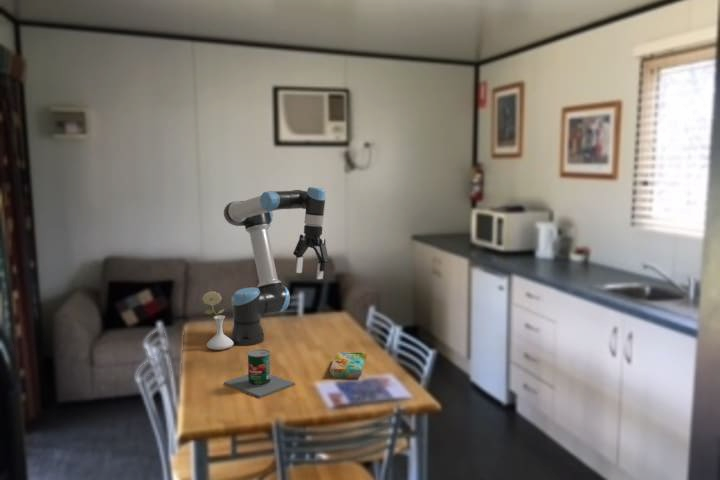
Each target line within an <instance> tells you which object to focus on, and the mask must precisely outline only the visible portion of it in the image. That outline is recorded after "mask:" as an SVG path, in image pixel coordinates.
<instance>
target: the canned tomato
mask: <svg viewBox="0 0 720 480" xmlns="http://www.w3.org/2000/svg"><path fill="white" fill-rule="evenodd" d="M247 368H248V370H247V372H248V377H249V378H248V379H249V385H251V386H256V387H259V386H265V385H268V384H270V382H271V376H270V375H272V373H271V351H270V350H267V349H254V350H250V351H249V352H247Z"/></svg>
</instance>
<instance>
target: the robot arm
mask: <svg viewBox="0 0 720 480" xmlns="http://www.w3.org/2000/svg"><path fill="white" fill-rule="evenodd" d="M325 202H326V190H325V188H322V187H313V186H311V187H310V186H308V188H307V190H301V189H293V190H282V191H281V190H278V191H277V190H275V191H273V190H270V191H264V192H262V194H260V195H259V196H255V197H251V198H248V199H246V200H245V199H244V200H236V201H232V202H229V203H228V204H226V206H225V207H224V210H223V217H224V219H225V221H227V223H228V224H230V225H232V226H235V227H243V226H244V228H245V232H247V233H248V234H249V237H250V242H251V248H252V252H253V256H254V257H253V259H254V262H255V267H256V272H257V277H258V282H259V283H258V285H257V286H256V287H251V286H250V287H245V288H241V289H238V290H236V291H235V292H234V293H233V296H232V305H233V306H232V308H233V326H232V329H231V334H230V337H229V338H230V339H231V340H232V341H233V343H234V344H233V345H236V346H237V345H238V346H251V345H258V344H261V343H263V342H264V341H265V333H264V330H263V327H262V325H261V316H266V315H271V314H278V313H281V312H284V311H286V309H288V307H289V304H290V300H291V296H290V295H291V294H290V291H289V289H288V288H287V287H286V286H285V285H283V283H282V281H281V280H279V278H278V273H277V269H276V265H275V259H274V255H273V250H272V245H271V241H270V240H271V239H270V235H269V231H268V230H269V228H270V227H271V223H272V221H273V218H274V217H273V216H274V214H273V212H274V211H277V210H292V209H294V210H295V209H303V210H305V215H304V222H303V223H304V226H303V228H304V229H303V234H299V238H298V241H297V243H296V246H295V247H294V251H293V252H292V254H293V255H294V256H295V257H296V261H295V273H296V274H302V272H303V262H304V255H305V253H306V251H307V250H308V249H309V248H311V249H313V250H314V252H315V255H316V257H317V260H318V262H317V268H316V269H317V271H316V279H317V280H323V279H324V278H323V277H324V271H325V269H326V268H325V266H326V264H327V263H329V262H330V259H329V258H330V257H329V255H328V249H327V246H326V239H325V238H321V236H322V235H323V226H322V225H323V224H324V216H325V215H324V214H325V213H324V212H325V207H326V206H325V205H326V203H325Z"/></svg>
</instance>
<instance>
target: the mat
mask: <svg viewBox="0 0 720 480" xmlns="http://www.w3.org/2000/svg"><path fill="white" fill-rule="evenodd" d="M270 376H271V382H270V384H268V385H265V386H259V387H256V386H251V385H249V379H248V378H249V377H248V374H245V375H242V376H238V377H235V378H232V379H229V380H227V381H224V382H223V384H226V385H225V386H227V385H228V387H230V386H231V387H230V388H232V387H234V388H233V389H235V388H236V389H235V390H237V389H239V390H238V391H240V390H241V391H240V392H243V393H245V392H246V394H248V395H250V394H251V395H250V396H254V397H257V398H259V399H261V398H264V397H267V396H269V395H273V394H275V393H277V392H280V391H283V390H285V389H288V388H290V387H293V386H295V385H296V383H295V381H294V382H293V381H291V380H288V379H285V378H282V377H280V376H279V377H278V376H276V375H273V374H271V375H270Z"/></svg>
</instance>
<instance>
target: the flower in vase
mask: <svg viewBox="0 0 720 480" xmlns="http://www.w3.org/2000/svg"><path fill="white" fill-rule="evenodd" d="M222 299H223V298H222V296H221V294H220V292H216V291H213V290H211V291H207V293H205V294H203V296H202V298H201V300H202V302H203V303H204V304H205V305H209V306H211V308H212V309H209V308H208V309H206V310H204V312H203V314H207V315H212V314H213V313H214V314H215V316H213V319H214V321H215V323H216V334H214V336H213V337H212V338H210V339H209V340H208V342H207V343H206V347H207V348H208V349H211V350H216V351H218V350H219V351H221V350H226V349H229V348H231V347H233V346H234V345H235V344H234V343H233V341H232V340H231V339H230V337H228V336H227V335H225V333H224V332H223V322H224V319H225V318H226V316H225V315H220V314H223V313H224V311H225V308H223V309H221V310H219V311H218V312H217V313H216V312H215V311H216V310H214V306H216V305H218V304H221V303H220V302H221V300H222Z"/></svg>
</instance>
